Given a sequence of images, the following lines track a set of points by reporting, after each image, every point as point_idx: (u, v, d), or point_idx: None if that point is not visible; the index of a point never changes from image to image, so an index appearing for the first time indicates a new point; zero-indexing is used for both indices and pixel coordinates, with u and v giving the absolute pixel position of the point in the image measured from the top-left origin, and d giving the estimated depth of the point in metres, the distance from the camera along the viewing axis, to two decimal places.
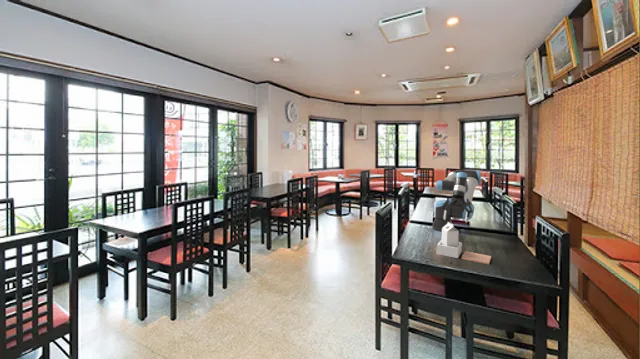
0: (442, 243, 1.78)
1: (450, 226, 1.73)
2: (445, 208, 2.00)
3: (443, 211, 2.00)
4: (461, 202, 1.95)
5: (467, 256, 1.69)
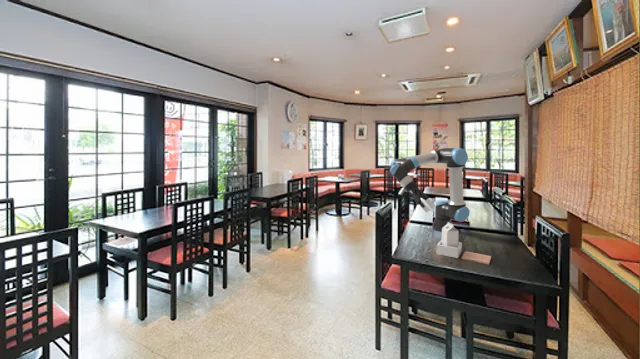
0: (442, 243, 1.78)
1: (450, 226, 1.73)
2: None
3: None
4: None
5: (467, 256, 1.69)
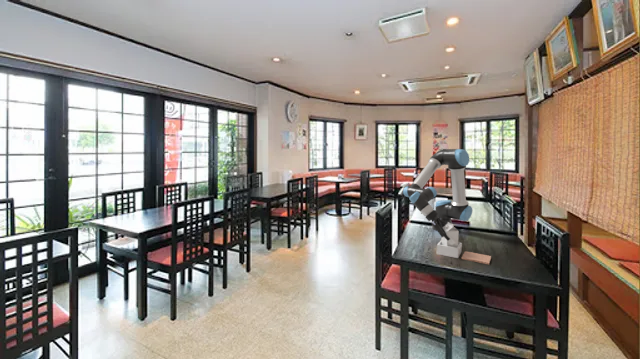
0: (442, 243, 1.78)
1: (450, 226, 1.73)
2: None
3: None
4: None
5: (467, 256, 1.69)
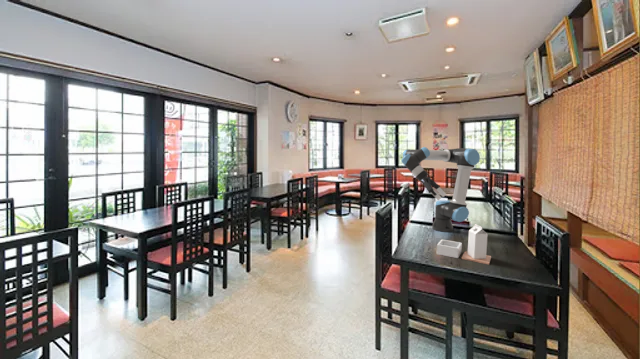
0: (469, 246, 1.69)
1: (478, 228, 1.64)
2: (435, 188, 1.95)
3: None
4: None
5: (467, 256, 1.69)
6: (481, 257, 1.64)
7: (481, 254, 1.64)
